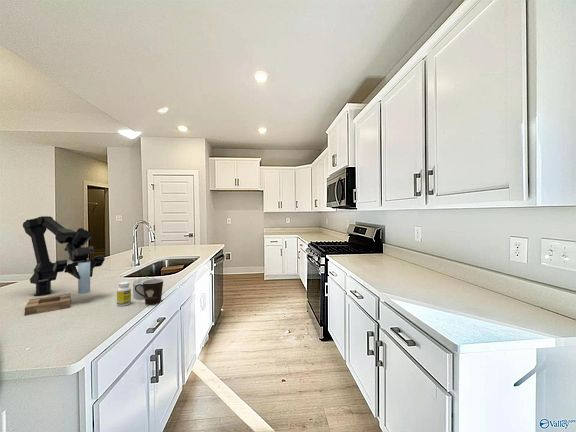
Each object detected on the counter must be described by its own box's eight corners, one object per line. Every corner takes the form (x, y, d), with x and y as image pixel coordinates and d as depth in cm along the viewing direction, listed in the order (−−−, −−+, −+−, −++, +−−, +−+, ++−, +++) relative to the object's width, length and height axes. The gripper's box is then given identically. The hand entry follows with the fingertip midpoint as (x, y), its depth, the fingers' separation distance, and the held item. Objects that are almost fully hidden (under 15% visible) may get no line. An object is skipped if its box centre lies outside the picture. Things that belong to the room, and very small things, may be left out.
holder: (29, 306, 115) (29, 299, 115) (70, 299, 124) (70, 293, 124) (24, 315, 104) (24, 308, 104) (69, 307, 113) (69, 300, 113)
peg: (78, 292, 120) (78, 262, 120) (90, 290, 123) (90, 261, 123) (78, 294, 117) (78, 263, 117) (90, 292, 120) (90, 262, 120)
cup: (135, 300, 122) (135, 282, 122) (130, 294, 132) (130, 277, 132) (159, 296, 129) (159, 279, 129) (152, 290, 139) (152, 274, 139)
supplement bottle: (124, 306, 114) (124, 284, 114) (113, 305, 115) (113, 284, 115) (133, 302, 119) (133, 281, 119) (123, 301, 121) (123, 281, 120)
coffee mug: (167, 300, 122) (167, 279, 122) (152, 306, 114) (152, 284, 114) (148, 298, 126) (148, 277, 126) (133, 303, 118) (133, 282, 118)
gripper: (55, 242, 114) (64, 270, 108) (103, 239, 130) (113, 263, 124) (49, 258, 118) (57, 286, 112) (96, 253, 134) (106, 277, 128)
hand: (85, 277), depth 119 cm, fingers closed on peg, 4 cm apart
